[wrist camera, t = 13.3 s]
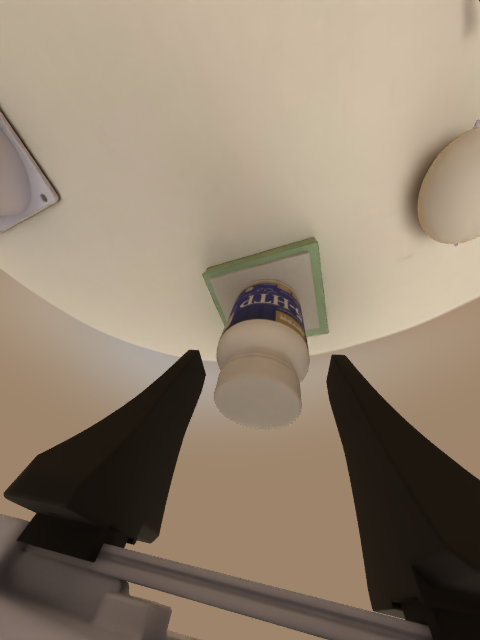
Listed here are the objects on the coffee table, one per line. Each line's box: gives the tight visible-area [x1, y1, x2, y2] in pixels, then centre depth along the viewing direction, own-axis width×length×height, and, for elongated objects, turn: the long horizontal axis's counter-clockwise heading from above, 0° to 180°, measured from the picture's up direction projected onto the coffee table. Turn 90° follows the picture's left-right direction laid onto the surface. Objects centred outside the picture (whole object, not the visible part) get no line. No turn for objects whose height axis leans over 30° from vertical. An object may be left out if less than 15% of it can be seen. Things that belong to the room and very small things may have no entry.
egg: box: [418, 120, 480, 247], centre depth 11 cm, size 4×6×4 cm, turn 21°
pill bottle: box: [214, 280, 310, 429], centre depth 12 cm, size 5×5×9 cm
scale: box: [202, 237, 328, 336], centre depth 17 cm, size 9×8×2 cm
